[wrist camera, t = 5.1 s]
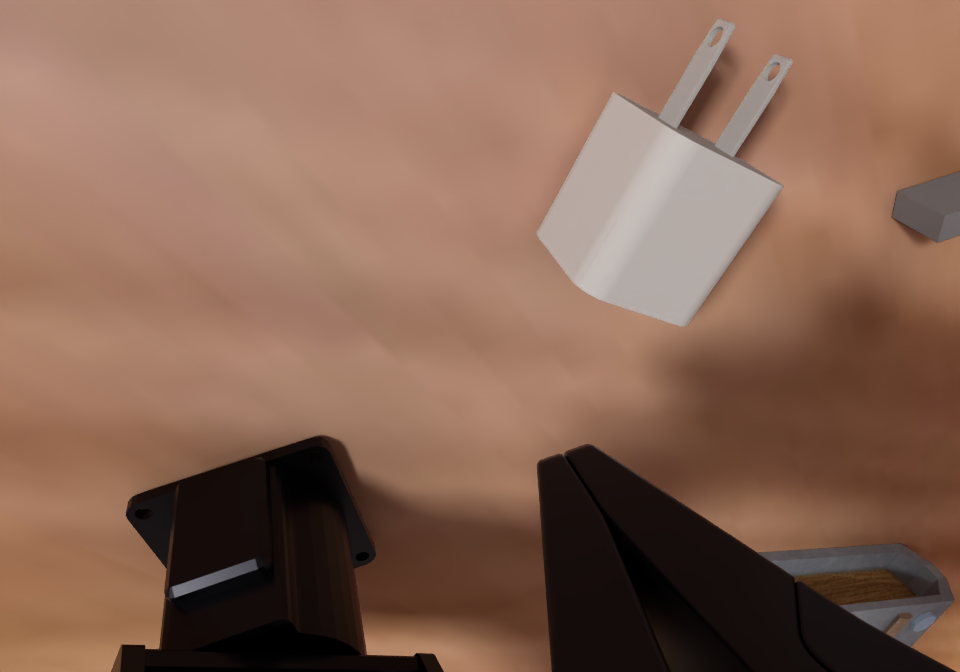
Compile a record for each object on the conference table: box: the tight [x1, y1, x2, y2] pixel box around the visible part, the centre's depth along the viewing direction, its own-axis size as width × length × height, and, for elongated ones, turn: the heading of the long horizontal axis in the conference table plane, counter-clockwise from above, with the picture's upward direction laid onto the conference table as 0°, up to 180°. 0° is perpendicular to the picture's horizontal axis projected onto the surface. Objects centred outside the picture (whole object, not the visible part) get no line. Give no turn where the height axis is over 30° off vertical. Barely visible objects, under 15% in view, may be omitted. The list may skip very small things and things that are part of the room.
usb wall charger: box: [537, 18, 792, 327], centre depth 18 cm, size 4×7×4 cm, turn 153°
